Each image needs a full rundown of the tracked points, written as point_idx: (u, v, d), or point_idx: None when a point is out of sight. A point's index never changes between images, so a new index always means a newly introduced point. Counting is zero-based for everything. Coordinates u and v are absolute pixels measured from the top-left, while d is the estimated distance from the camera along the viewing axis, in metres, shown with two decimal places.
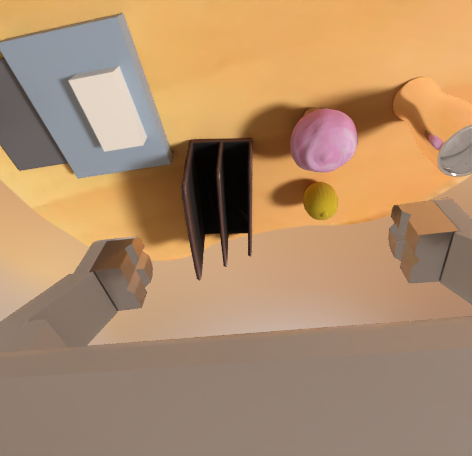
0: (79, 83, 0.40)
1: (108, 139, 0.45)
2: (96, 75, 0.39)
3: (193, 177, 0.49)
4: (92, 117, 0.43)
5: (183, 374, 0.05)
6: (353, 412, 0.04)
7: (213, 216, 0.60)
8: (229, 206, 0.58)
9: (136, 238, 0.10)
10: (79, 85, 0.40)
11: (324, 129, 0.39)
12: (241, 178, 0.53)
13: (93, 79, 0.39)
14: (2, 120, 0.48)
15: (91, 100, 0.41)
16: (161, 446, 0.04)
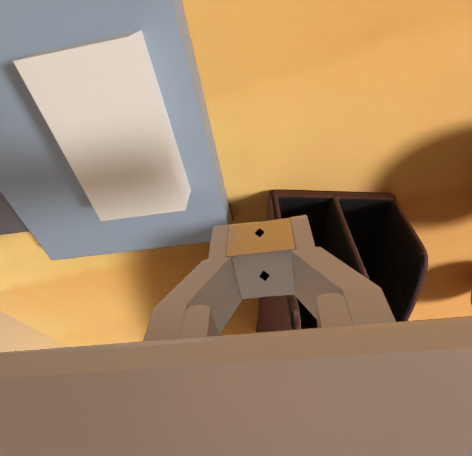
0: (40, 68, 0.16)
1: (111, 198, 0.20)
2: (83, 47, 0.15)
3: None
4: (74, 151, 0.19)
5: (183, 374, 0.05)
6: (353, 412, 0.04)
7: None
8: None
9: (259, 223, 0.10)
10: (41, 74, 0.16)
11: None
12: None
13: (76, 58, 0.15)
14: None
15: (71, 112, 0.17)
16: (161, 446, 0.04)
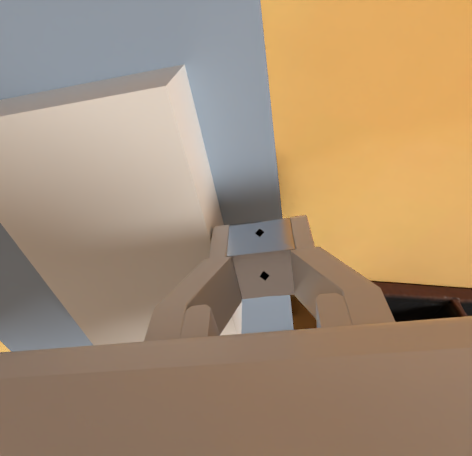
0: None
1: (120, 331, 0.12)
2: (73, 105, 0.07)
3: None
4: (58, 270, 0.11)
5: (183, 374, 0.05)
6: (353, 412, 0.04)
7: None
8: None
9: (260, 223, 0.10)
10: None
11: None
12: None
13: (58, 126, 0.08)
14: None
15: (51, 216, 0.09)
16: (161, 447, 0.04)
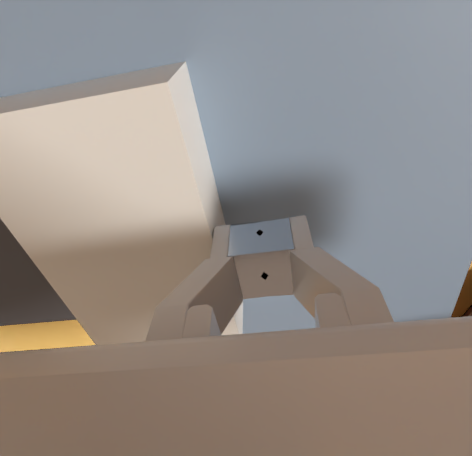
0: None
1: (122, 329, 0.12)
2: (74, 102, 0.07)
3: None
4: (60, 268, 0.11)
5: (183, 374, 0.05)
6: (353, 412, 0.04)
7: None
8: None
9: (261, 223, 0.10)
10: None
11: None
12: None
13: (59, 122, 0.08)
14: None
15: (52, 213, 0.09)
16: (161, 447, 0.04)
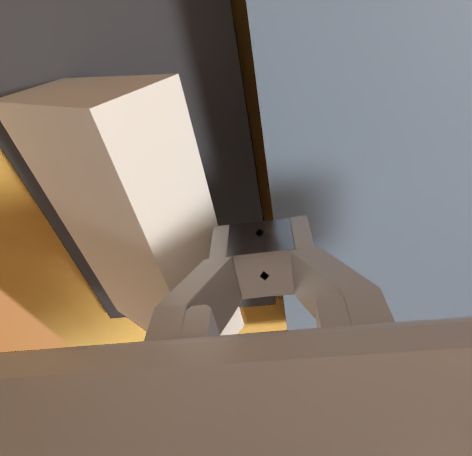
0: (13, 121, 0.09)
1: (121, 299, 0.14)
2: None
3: None
4: (76, 233, 0.12)
5: (183, 374, 0.05)
6: (353, 412, 0.04)
7: None
8: None
9: (260, 223, 0.10)
10: (17, 129, 0.10)
11: None
12: None
13: (40, 121, 0.08)
14: None
15: (59, 190, 0.10)
16: (161, 446, 0.04)
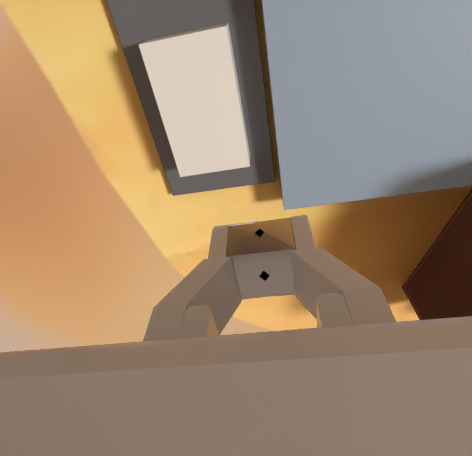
0: (158, 50, 0.21)
1: (192, 156, 0.26)
2: (192, 34, 0.21)
3: None
4: (170, 116, 0.24)
5: (183, 374, 0.05)
6: (353, 412, 0.04)
7: None
8: None
9: (259, 223, 0.10)
10: (157, 54, 0.22)
11: None
12: None
13: (185, 42, 0.21)
14: None
15: (174, 84, 0.23)
16: (161, 447, 0.04)
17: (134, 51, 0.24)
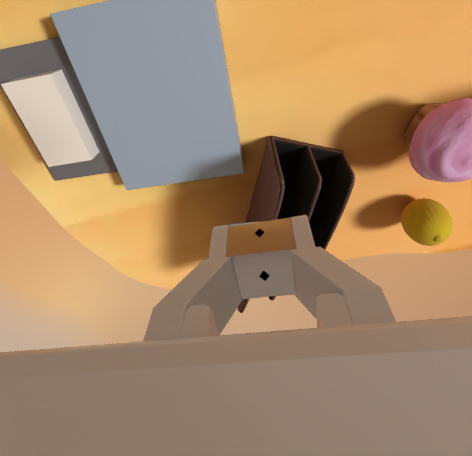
0: (13, 87, 0.35)
1: (52, 152, 0.39)
2: (32, 78, 0.34)
3: None
4: (31, 127, 0.38)
5: (183, 374, 0.05)
6: (353, 412, 0.04)
7: None
8: None
9: (259, 223, 0.10)
10: (13, 89, 0.35)
11: None
12: None
13: (29, 83, 0.35)
14: None
15: (28, 107, 0.36)
16: (161, 446, 0.04)
17: None
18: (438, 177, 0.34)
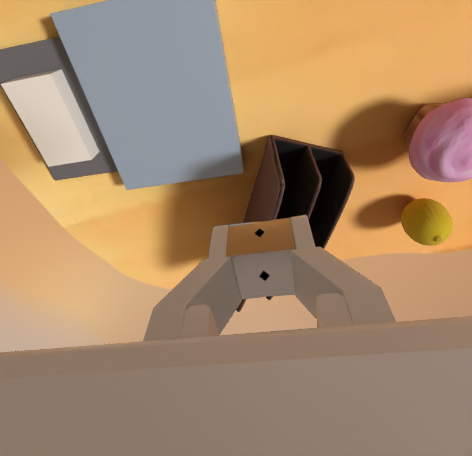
0: (13, 87, 0.35)
1: (52, 152, 0.39)
2: (32, 78, 0.34)
3: None
4: (31, 127, 0.38)
5: (183, 374, 0.05)
6: (353, 412, 0.04)
7: None
8: None
9: (259, 223, 0.10)
10: (13, 89, 0.35)
11: None
12: None
13: (29, 82, 0.35)
14: None
15: (28, 107, 0.36)
16: (161, 446, 0.04)
17: None
18: (438, 177, 0.34)
